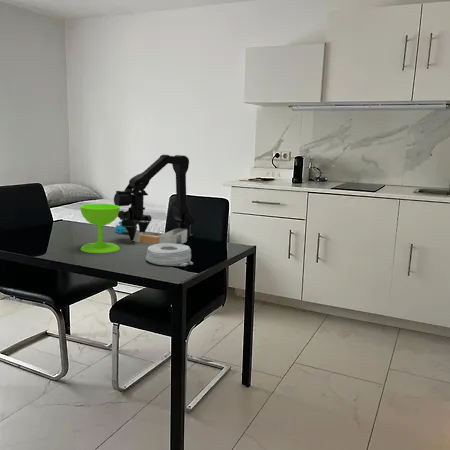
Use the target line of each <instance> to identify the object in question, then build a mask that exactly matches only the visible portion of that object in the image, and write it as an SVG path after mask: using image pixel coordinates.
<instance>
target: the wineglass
mask: <svg viewBox="0 0 450 450" xmlns="http://www.w3.org/2000/svg"><path fill="white" fill-rule="evenodd" d="M120 208H121V206H117V205H115V204H110V203H108V204H107V203H89V204H82V205H80V206H79V209H80V213H81V215H82V217H83V218H84V220H86V222H88V223H89V224H91V225H94V226H97V241H96V242H90V243H85V244H84V245H82V246H81V248H80V251H82V252H83V253H84V252H85V253H90V254H108V253H114V252H117V251H119V250H121V249H120V246H119V245H117V244H116V243H112V242H105V241H104V240H103V239H104V238H103V237H104V236H103V235H104V234H103V230H104V228H103V226H106V225H110V224H111V223H112V222H114V221H115V220H116V218H118V213H119V211H121V209H120Z"/></svg>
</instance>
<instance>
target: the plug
mask: <svg viewBox="0 0 450 450" xmlns="http://www.w3.org/2000/svg"><path fill="white" fill-rule="evenodd" d="M133 241H135V243H142V242H146V243H145V244H151V243H154V244H153V245H155V244H159V235H154V234H153V235H152V234H145V233H144V232H139V231H136V233H135V236H134V239H133Z"/></svg>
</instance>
